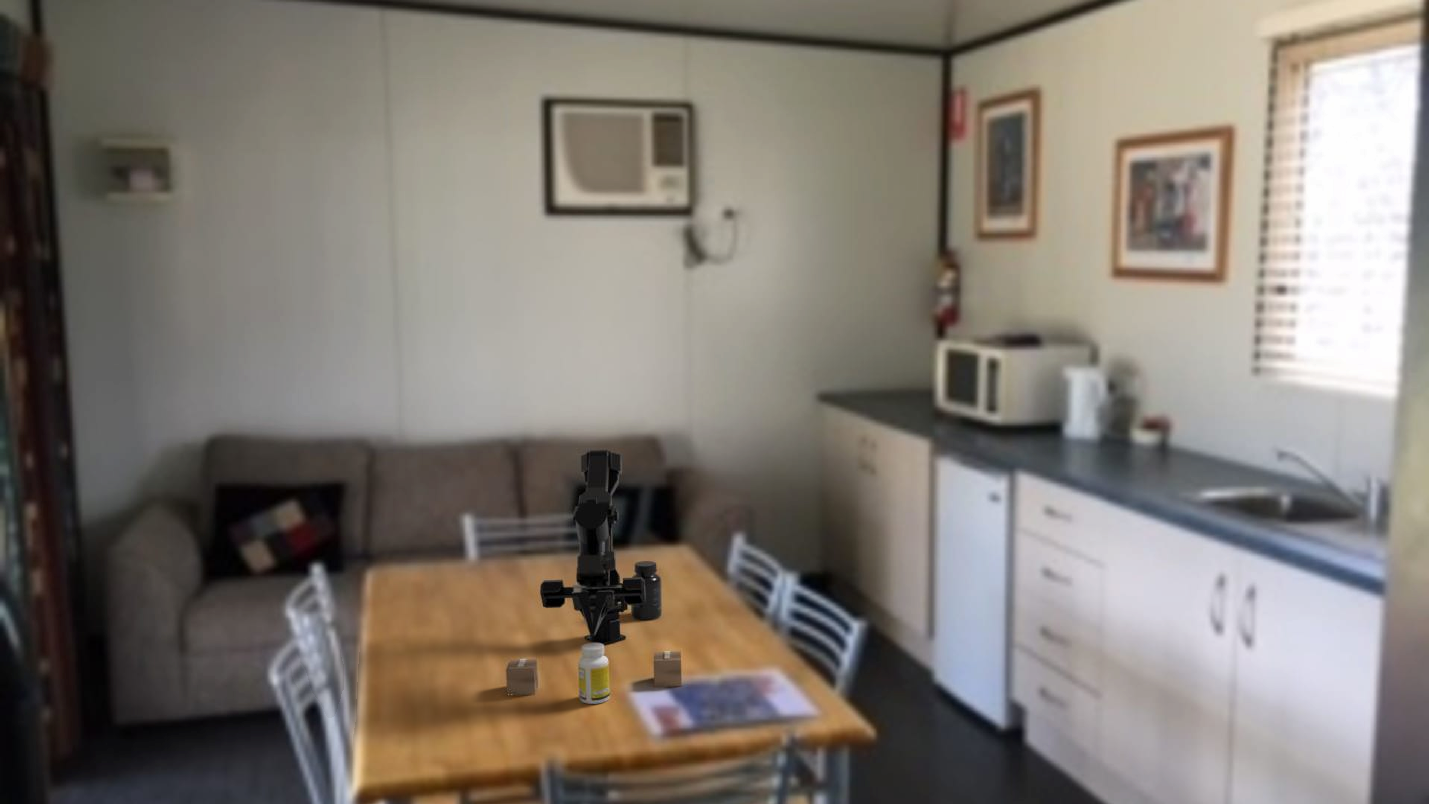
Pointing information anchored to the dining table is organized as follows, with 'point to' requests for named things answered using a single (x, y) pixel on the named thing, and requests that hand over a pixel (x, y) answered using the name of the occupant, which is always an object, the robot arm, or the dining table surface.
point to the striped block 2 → (667, 669)
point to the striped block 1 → (522, 677)
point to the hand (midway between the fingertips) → (592, 634)
